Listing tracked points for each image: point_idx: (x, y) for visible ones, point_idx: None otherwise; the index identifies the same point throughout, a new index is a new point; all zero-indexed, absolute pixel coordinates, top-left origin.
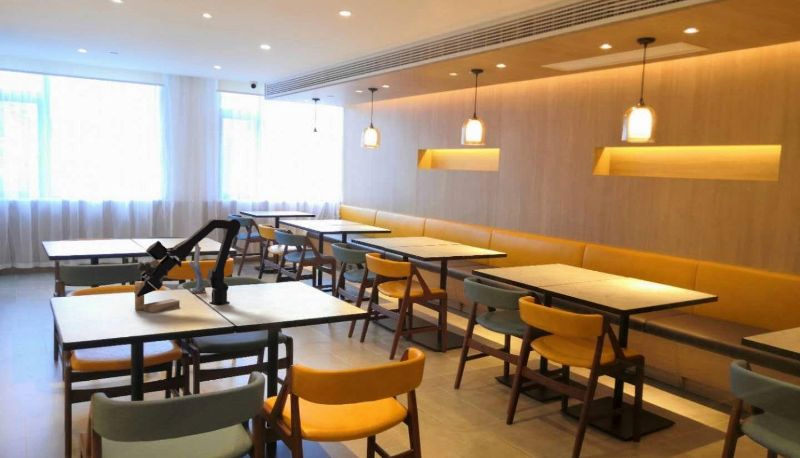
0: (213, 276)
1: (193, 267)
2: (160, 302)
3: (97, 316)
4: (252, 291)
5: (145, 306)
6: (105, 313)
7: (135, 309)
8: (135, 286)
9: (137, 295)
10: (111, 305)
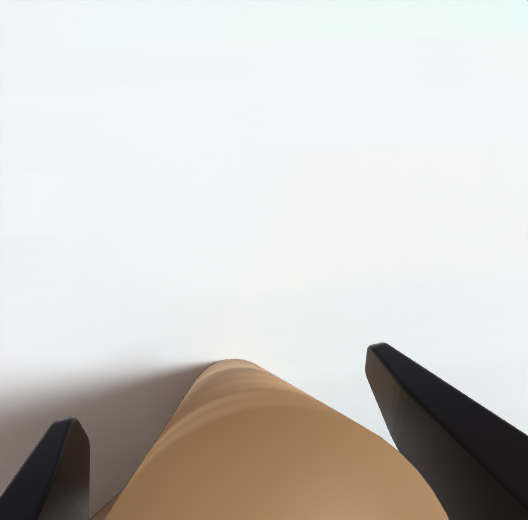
0: None
1: None
2: None
3: (37, 56)
4: None
5: None
6: (145, 109)
7: (210, 366)
8: (187, 410)
9: (53, 437)
10: (467, 139)
